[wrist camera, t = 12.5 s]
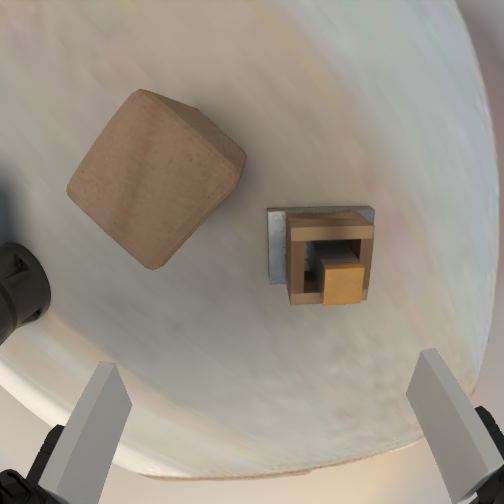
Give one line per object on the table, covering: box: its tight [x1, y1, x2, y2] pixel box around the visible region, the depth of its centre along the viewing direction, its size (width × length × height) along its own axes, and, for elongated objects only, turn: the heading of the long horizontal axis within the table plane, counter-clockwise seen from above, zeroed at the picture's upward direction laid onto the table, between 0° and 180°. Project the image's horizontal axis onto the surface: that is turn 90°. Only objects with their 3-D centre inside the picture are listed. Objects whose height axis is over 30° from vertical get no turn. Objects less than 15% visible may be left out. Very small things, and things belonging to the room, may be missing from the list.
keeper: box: [267, 206, 375, 306], centre depth 36 cm, size 14×10×13 cm
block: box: [66, 89, 246, 270], centre depth 29 cm, size 10×10×20 cm
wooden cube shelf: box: [286, 212, 375, 305], centre depth 37 cm, size 10×10×6 cm
